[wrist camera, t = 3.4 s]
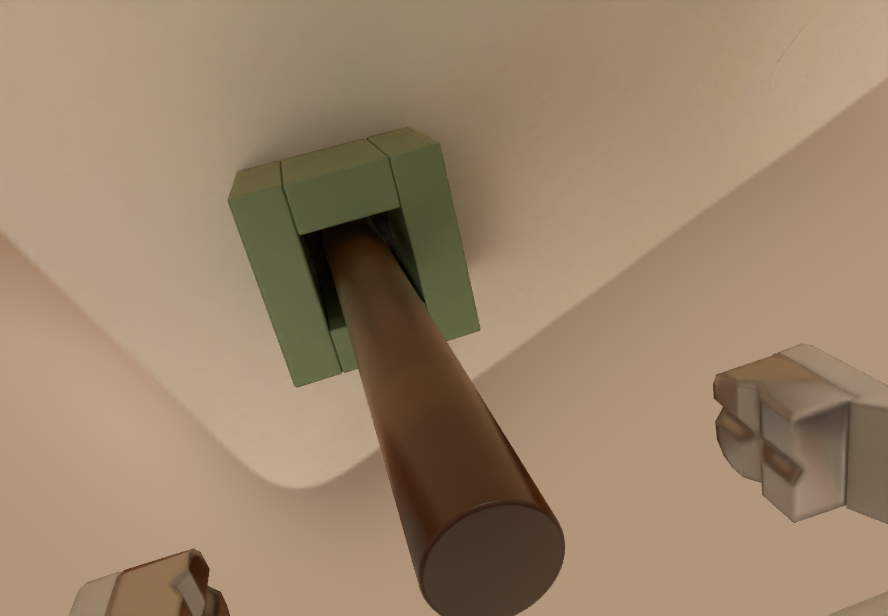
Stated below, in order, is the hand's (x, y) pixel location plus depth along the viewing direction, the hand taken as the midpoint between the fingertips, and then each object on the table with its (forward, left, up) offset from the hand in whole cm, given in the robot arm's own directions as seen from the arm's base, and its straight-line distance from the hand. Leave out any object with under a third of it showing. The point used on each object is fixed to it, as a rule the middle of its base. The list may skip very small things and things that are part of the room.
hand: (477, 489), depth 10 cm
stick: (0, 0, -16) cm, 16 cm away
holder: (0, 0, -16) cm, 16 cm away
